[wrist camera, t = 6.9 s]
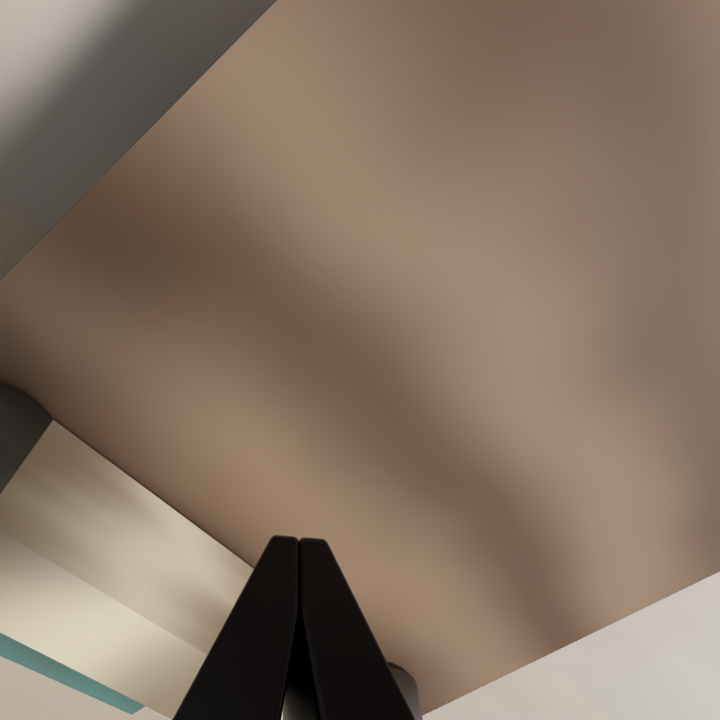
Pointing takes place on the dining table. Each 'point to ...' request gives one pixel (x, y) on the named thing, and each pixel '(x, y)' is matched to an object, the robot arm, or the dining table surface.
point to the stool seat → (413, 316)
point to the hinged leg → (108, 566)
